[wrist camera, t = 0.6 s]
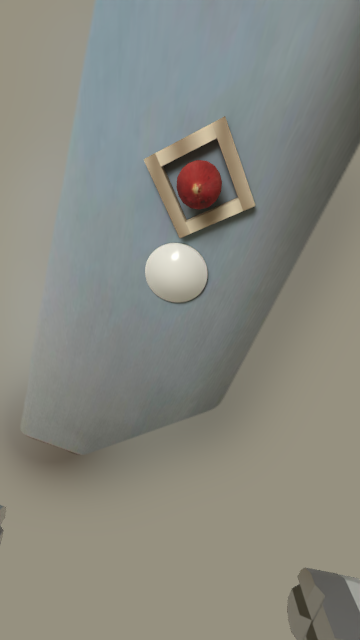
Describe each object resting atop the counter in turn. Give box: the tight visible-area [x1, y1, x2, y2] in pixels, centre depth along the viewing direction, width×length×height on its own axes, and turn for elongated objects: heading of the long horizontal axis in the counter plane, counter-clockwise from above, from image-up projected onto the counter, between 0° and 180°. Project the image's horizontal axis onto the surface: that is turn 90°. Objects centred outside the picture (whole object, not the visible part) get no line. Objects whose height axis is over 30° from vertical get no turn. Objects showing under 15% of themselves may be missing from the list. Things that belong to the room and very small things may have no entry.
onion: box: [177, 160, 222, 209], centre depth 42 cm, size 6×6×8 cm
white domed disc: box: [145, 243, 208, 302], centre depth 53 cm, size 10×10×1 cm
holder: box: [144, 117, 255, 238], centre depth 45 cm, size 12×12×2 cm
